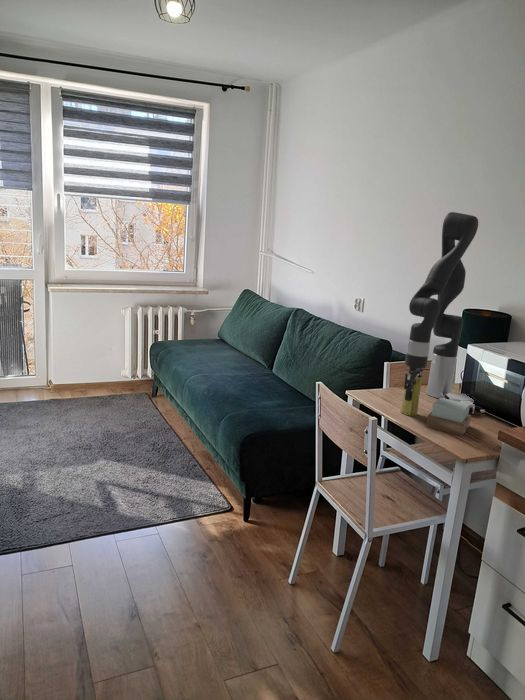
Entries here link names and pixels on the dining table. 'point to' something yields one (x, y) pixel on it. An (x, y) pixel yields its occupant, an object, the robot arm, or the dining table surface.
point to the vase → (412, 400)
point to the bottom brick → (448, 424)
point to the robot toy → (464, 401)
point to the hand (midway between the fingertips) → (410, 398)
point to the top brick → (450, 410)
